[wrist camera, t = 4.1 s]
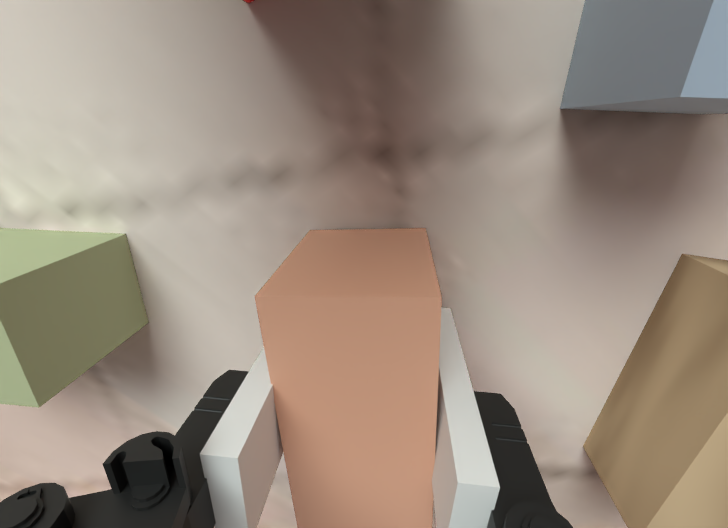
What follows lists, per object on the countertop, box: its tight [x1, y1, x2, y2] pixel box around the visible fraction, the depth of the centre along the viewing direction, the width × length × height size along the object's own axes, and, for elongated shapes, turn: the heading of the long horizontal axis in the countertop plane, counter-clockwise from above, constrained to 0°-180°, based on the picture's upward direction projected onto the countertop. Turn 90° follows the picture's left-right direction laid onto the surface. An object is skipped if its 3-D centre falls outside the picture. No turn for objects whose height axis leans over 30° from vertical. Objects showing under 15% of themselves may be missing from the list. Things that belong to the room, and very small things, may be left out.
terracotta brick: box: [255, 228, 442, 528], centre depth 11 cm, size 8×4×5 cm, turn 3°
